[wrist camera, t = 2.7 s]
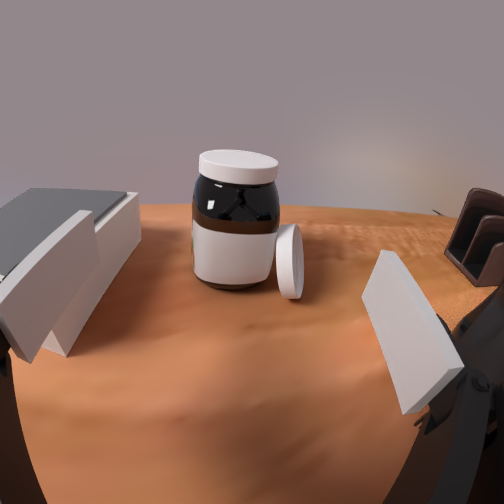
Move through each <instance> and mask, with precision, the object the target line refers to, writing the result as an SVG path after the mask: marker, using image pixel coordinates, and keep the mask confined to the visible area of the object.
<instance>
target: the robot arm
mask: <svg viewBox="0 0 504 504" xmlns="http://www.w3.org/2000/svg"><path fill="white" fill-rule="evenodd" d="M99 263H100V258H99V253H98V247H97V241H96V234H95V227H94V219H93V211H86V210H79V211H78V212H77V213H75V214H74V215H73V216H72V217H70V218H69V219H68V220H67V221H66V222H64V223H63V224H62V225H61V226H60V227H58V228H57V229H56V230H55V231H54V232H53V233H51V234H50V235H49V236H48V237H47V238H46V239H45V240H44V241H43V242H41V243H40V244H39V245H38V246H37V247H36V248H35V249H34V250H33V251H32V252H31V253H30V254H29V255H28V256H27V257H26V258H25V259H24V260H23V261H21V262H20V263H18V264H17V265H15V266H14V267H13V268H12V269H11V270H10V271H9V272H8V275H5V277H4V278H3V279H2V281H0V504H47V501H46V499H45V497H44V495H43V492H42V490H41V487H40V485H39V482H38V480H37V477H36V474H35V472H34V469H33V466H32V463H31V460H30V457H29V454H28V450H27V447H26V443H25V440H24V436H23V432H22V428H21V423H20V419H19V414H18V409H17V403H16V397H15V391H14V384H13V375H12V365H11V358H10V355H9V353H8V351H9V349H10V347H11V348H12V349H13V351H14V352H15V354H16V356H17V357H18V358H20V359H22V360H24V361H26V362H28V363H30V364H31V363H32V361H33V359H34V357H35V356H36V354H37V352H38V351H39V349H40V347H41V346H42V344H43V342H44V341H45V339H46V338H47V336H48V334H49V333H50V331H51V330H52V328H53V327H54V325H55V323H56V322H57V320H58V319H59V317H60V316H61V314H62V313H63V312H64V310H65V309H66V307H67V306H68V304H69V303H70V301H71V300H72V299H73V297H74V296H75V294H76V293H77V292H78V290H79V289H80V288H81V286H82V285H83V283H84V282H85V281H86V279H87V278H88V277H89V276H90V274H91V273H92V272H93V270H94V269H95V268H96V266H97V265H98V264H99ZM362 300H363V302H364V304H365V307H366V309H367V312H368V314H369V317H370V319H371V322H372V325H373V327H374V330H375V332H376V335H377V338H378V341H379V343H380V346H381V349H382V352H383V354H384V357H385V360H386V363H387V366H388V369H389V372H390V375H391V378H392V381H393V384H394V387H395V390H396V394H397V397H398V400H399V404H400V407H401V410H402V414H403V415H406V414H412V413H417V412H419V411H420V410H422V409H423V408H424V407H425V406H426V405H427V404H429V407H430V410H429V411H428V412H427V413H426V414H425V415H423V416H422V417H421V418H420V419H419V420H417V421H416V422H415V424H414V426H417V425H418V424H419V423H421V422H422V421H423V422H422V425H421V426H420V427H419V429H420V430H419V433H418V435H417V437H416V440H415V442H414V444H413V447H412V449H411V451H410V453H409V456H408V458H407V460H406V462H405V464H404V466H403V468H402V470H401V472H400V474H399V476H398V477H397V479H396V481H395V483H394V485H393V487H392V488H391V490H390V492H389V494H388V495H387V497H386V499H385V500H384V502H383V503H382V504H504V279H503V280H502V282H501V284H500V285H499V287H498V288H497V289H496V290H495V291H494V292H493V293H492V294H491V295H489V296H488V297H487V298H486V299H485V300H484V301H483V302H482V303H480V304H479V305H478V306H477V307H476V308H475V309H473V310H472V311H471V312H470V313H468V314H467V315H466V316H465V317H463V318H462V319H461V321H460V322H459V323H458V324H457V326H456V327H455V328H454V330H453V331H452V333H451V331H450V330H449V328H448V326H447V324H446V323H445V322H444V321H443V319H442V318H441V317H440V316H439V315H438V314H436V313H435V312H434V310H433V308H432V307H431V305H430V303H429V302H428V300H427V299H426V297H425V295H424V294H423V292H422V291H421V289H420V288H419V286H418V284H417V283H416V281H415V280H414V278H413V277H412V275H411V274H410V273H409V271H408V270H407V268H406V267H405V265H404V264H403V262H402V261H401V260H400V258H399V257H398V255H397V254H396V253H395V252H392V251H386V250H381V253H380V255H379V258H378V260H377V262H376V265H375V267H374V270H373V272H372V274H371V277H370V279H369V281H368V283H367V286H366V288H365V290H364V292H363V294H362ZM488 432H489V434H488Z"/></svg>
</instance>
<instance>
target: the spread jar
mask: <svg viewBox="0 0 504 504" xmlns="http://www.w3.org/2000/svg"><path fill="white" fill-rule="evenodd" d="M278 166H279V163H278V161H277V160H275V159H274V158H272V157H269V156H266V155H262V154H259V153H254V152H249V151H240V150H212V151H207V152H204V153H202V154H201V155H200V159H199V172H200V175H199V177H198V179H197V181H196V183H195V188H194V192H193V202H192V242H191V256H192V267H193V271H194V274H195V276H196V277H197V279H198V280H199V281H200V282H202V283H204V284H206V285H208V286H211V287H215V288H220V289H226V290H237V289H244V288H249V287H252V286H255V285H258V284H260V283H262V282H264V281H265V280H266V279H267V277H268V275H269V273H270V270H271V266H272V262H273V257H274V252H275V247H276V268H277V278H278V285H279V289H280V292H281V295H282V297H283V298H284V299H299V298H300V297H301V295H302V290H303V282H304V254H303V244H302V237H301V232H300V229H299V226H298V225H297V224H287V225H281V226H280V228H279V221H280V205H279V196H278V191H277V188H276V185H275V183H274V181H275V180H276V177H277V172H278ZM278 230H279V231H278ZM276 242H277V244H276Z"/></svg>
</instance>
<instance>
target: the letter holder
mask: <svg viewBox="0 0 504 504" xmlns="http://www.w3.org/2000/svg"><path fill="white" fill-rule="evenodd" d="M444 254H445V255H446V256H447V257H448V258H449V259H450V261H451V262H452V263H453V264H454V265H455V266H456V267H457V268H458V269H459V270H460V271H461V272H462V273H463V274H464V275H465V276H466V278H467V279H468V280H469V281H470V282H471V283H472V284H473V285H474V286H475V287H482V286H499V285H500V284H501V282H502V280H503V279H504V196H502V195H500V194H498V193H496V192H493V191H490V190H486V189H480V188H472V189H471V190H470V191H469V193H468V195H467V198H466V201H465V204H464V206H463V209H462V211H461V214H460V216H459V219H458V222H457V224H456V227H455V229H454V231H453V233H452V236H451V238H450V241H449V243H448V245H447V247H446V249H445V251H444Z"/></svg>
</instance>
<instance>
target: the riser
mask: <svg viewBox="0 0 504 504" xmlns="http://www.w3.org/2000/svg"><path fill="white" fill-rule="evenodd" d="M79 210H86V211H93V219H94V227H95V234H96V241H97V247H98V253H99V258H100V263H99V264H98V265H97V266H96V268H95V269H94V270H93V272H92V273H91V274H90V276H89V277H88V278H87V279H86V281H85V282H84V283H83V285H82V286H81V288H80V289H79V290H78V292H77V293H76V294H75V296H74V297H73V299H72V300H71V301H70V303H69V304H68V306H67V307H66V309H65V310H64V312H63V313H62V314H61V316H60V317H59V319H58V320H57V322H56V323H55V325H54V327H53V328H52V330H51V331H50V333H49V334H48V336H47V338H46V339H45V341H44V342H43V344H42V346H41V347H42V348H44V349H47V350H49V351H52V352H54V353H57V354H59V355H62V356H64V357H67V355H68V354H69V352H70V350H71V348H72V346H73V344H74V343H75V341H76V339H77V337H78V336H79V334H80V332H81V330H82V329H83V327H84V325H85V324H86V322H87V320H88V319H89V317H90V315H91V314H92V312H93V311H94V309H95V307H96V306H97V304H98V303H99V301H100V299H101V298H102V296H103V295H104V293H105V292H106V290H107V289H108V287H109V285H110V284H111V282H112V281H113V279H114V278H115V277H116V275H117V274H118V272H119V271H120V269H121V268H122V266H123V265H124V263H125V262H126V261H127V259H128V258H129V256H130V255H131V254H132V252H133V251H134V249H135V248H136V247H137V245H138V244H139V243H140V241H141V240H142V239H141V226H140V212H139V194H138V193H134V192H119V191H101V190H80V189H47V188H31V189H29V190H27V191H26V192H24V193H22V194H21V195H19V196H18V197H16V198H15V199H13V200H12V201H10V202H9V203H7V204H6V205H4V206H3V207H2V208H0V281H2V279H3V278H4V277H5V275H8V272H9V271H10V270H11V269H12V268H13V267H14V266H15V265H17V264H18V263H20V262H21V261H23V260H24V259H25V258H26V257H27V256H28V255H29V254H30V253H31V252H32V251H33V250H34V249H35V248H36V247H37V246H38V245H39V244H40V243H41V242H43V241H44V240H45V239H46V238H47V237H48V236H49V235H50V234H51V233H53V232H54V231H55V230H56V229H57V228H58V227H60V226H61V225H62V224H63V223H64V222H66V221H67V220H68V219H69V218H70V217H72V216H73V215H74V214H75V213H77V212H78V211H79Z"/></svg>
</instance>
